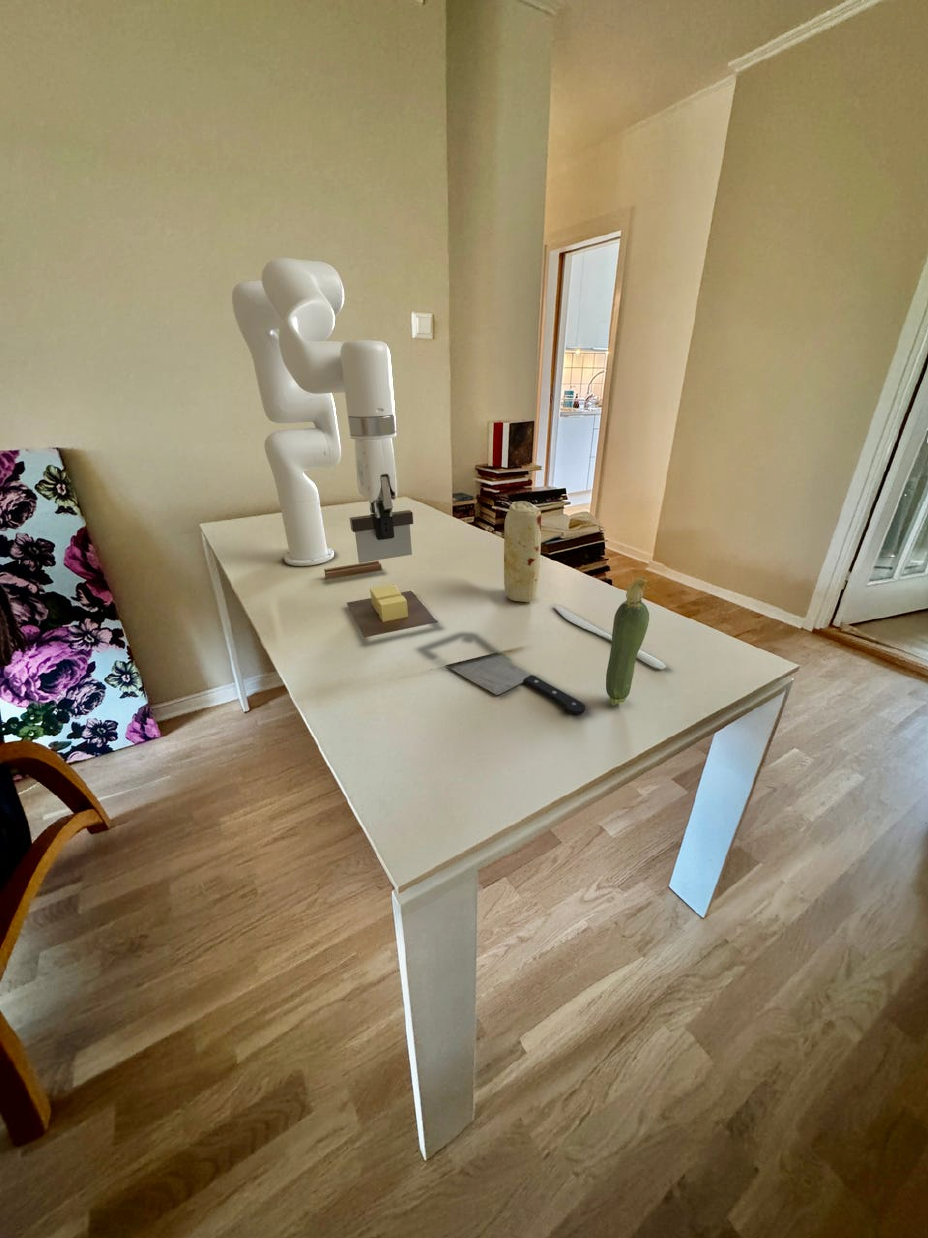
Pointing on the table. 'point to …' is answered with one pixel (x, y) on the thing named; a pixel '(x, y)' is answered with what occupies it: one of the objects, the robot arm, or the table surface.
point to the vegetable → (626, 642)
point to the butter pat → (392, 608)
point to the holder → (352, 569)
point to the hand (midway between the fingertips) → (383, 536)
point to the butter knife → (590, 627)
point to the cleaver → (510, 679)
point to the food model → (522, 551)
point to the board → (375, 626)
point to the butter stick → (383, 594)
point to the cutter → (384, 548)
